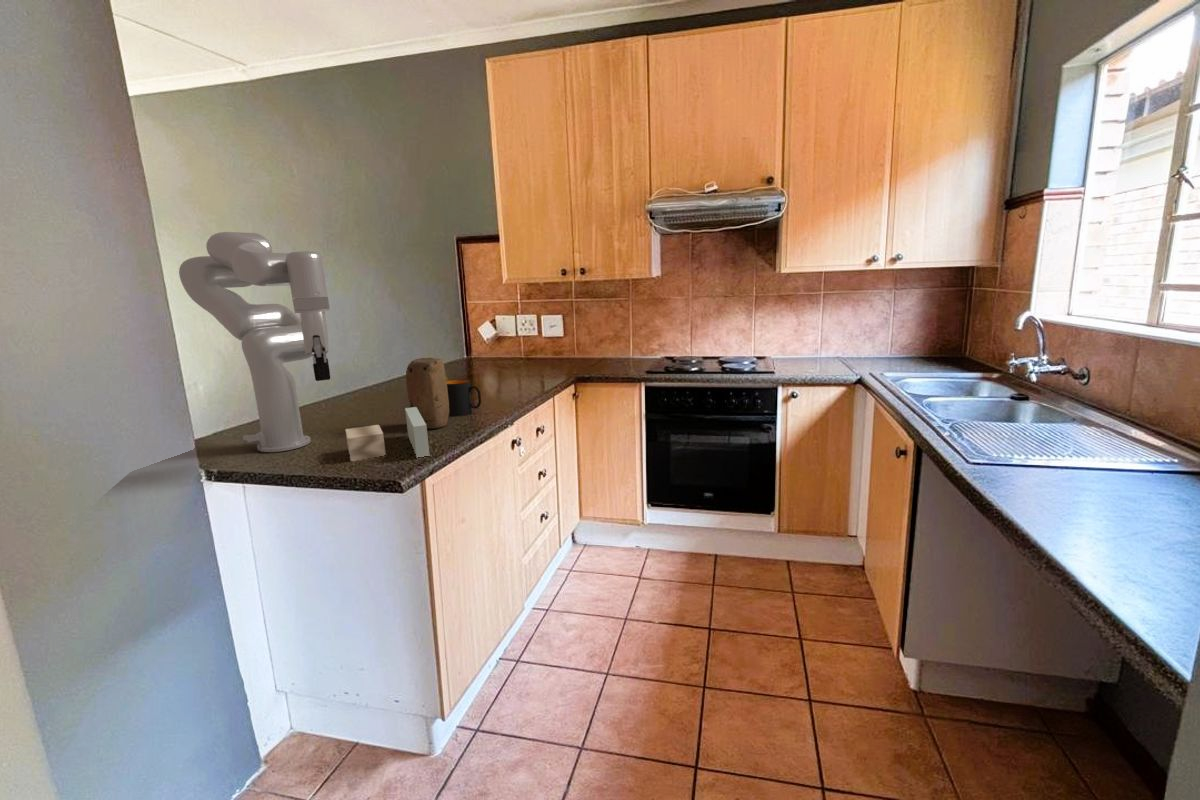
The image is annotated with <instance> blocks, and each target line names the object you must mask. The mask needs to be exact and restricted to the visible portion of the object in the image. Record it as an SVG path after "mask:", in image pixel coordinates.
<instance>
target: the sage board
mask: <svg viewBox="0 0 1200 800" xmlns="http://www.w3.org/2000/svg"><path fill="white" fill-rule="evenodd" d="M404 410H405V411H404V412H405V419H406V420H405V421H406V428H407V437H408V438H409V442H410V444H412V445H411V447H412V449H414V450H413V452H414V455H415V454H416V455H415V457H416V459H419V458H418V457H424V456H430V455H431V454H430V446H429V437H428V428H427V426H426V423H425V422H424V420H423V418H422V416H421V414H420V413H419V411H418V409H417V407H412V408H410V407H405V408H404ZM424 458H425V457H424Z"/></svg>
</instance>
